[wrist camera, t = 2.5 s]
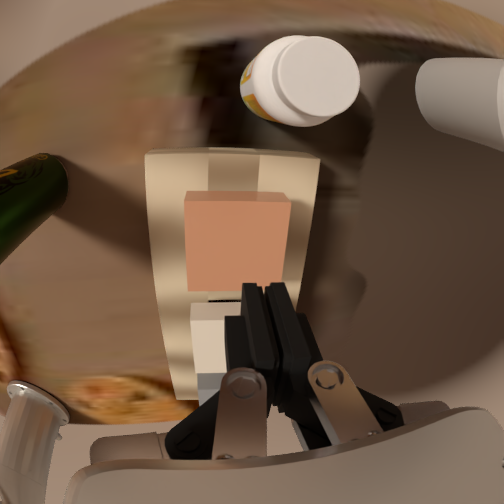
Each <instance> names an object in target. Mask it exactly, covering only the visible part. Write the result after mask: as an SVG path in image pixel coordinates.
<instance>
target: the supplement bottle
mask: <svg viewBox="0 0 504 504" xmlns="http://www.w3.org/2000/svg"><path fill="white" fill-rule="evenodd" d="M359 87H360V75H359V70H358V67H357V65H356V62H355V61H354V59H353V57H352V56H351V54H350V53H349V52H348V51H347V50H346V49H345V48H344V47H343V46H341V45H340V44H338V43H337V42H335V41H333V40H330V39H327V38H324V37H317V36H311V37H307V36H288V37H284V38H281V39H278V40H276V41H274V42H272V43H271V44H269V45H268V46H266V47H265V48H264V49H263V50H262V51H261V52H260V53H259V54H258V55H257V56H256V57H255V58H254V60H253V61H252V62H251V63H250V64H249V65H248V66H247V68H246V69H245V71H244V72H243V75H242V78H241V82H240V91H241V95H242V98H243V100H244V102H245V104H246V105H247V107H248V108H249V109H250V110H251V111H252V112H253V113H254V114H256V115H257V116H259V117H261V118H263V119H266V120H270V121H274V122H279V123H283V124H287V125H291V126H298V127H309V126H314V125H318V124H321V123H323V122H325V121H327V120H329V119H330V118H332V117H333V116H335V115H338V114H340V113H342V112H344V111H345V110H346V109H348V108H349V107H350V106H351V105H352V103H353V102H354V100H355V99H356V97H357V95H358V92H359Z"/></svg>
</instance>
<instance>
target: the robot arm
mask: <svg viewBox="0 0 504 504" xmlns="http://www.w3.org/2000/svg"><path fill="white" fill-rule="evenodd" d="M224 341H225V357H226V369H227V373H226V374H225V375H224V376H223V378H222V381H221V386H220V390H219V391H218V392H216V393H215V394H214V395H213V396H212V397H210V398H209V399H208V400H207V401H206V402H204V403H203V404H202V405H201V406H200V407H198V408H197V409H196V410H195V411H193V412H192V413H191V414H190V415H189V416H187V417H186V418H185V419H184V420H182V421H181V422H180V423H179V424H177V425H176V426H175V427H173V428H172V429H171V430H170V431H169V432H167V433H160V434H157V433H156V432H151V433H143V434H134V435H123V436H111V437H102V438H98V439H97V440H96V441H94V442H93V444H92V445H91V447H90V460H91V465H90V466H87V467H84V468H82V469H80V470H78V471H77V472H76V473H75V474H74V475H73V476H72V478H71V480H70V482H69V484H68V486H67V489H66V492H65V496H64V501H63V504H504V430H503V428H502V427H501V425H500V424H499V422H498V421H497V419H496V418H495V417H494V416H493V415H492V413H490V412H489V411H488V410H486V409H483V408H480V407H458V408H453V409H450V408H449V406H448V405H447V404H445V403H444V402H442V401H428V402H418V403H406V404H405V403H404V404H400V405H399V406H395V405H394V404H392V403H390V402H388V401H386V400H384V399H382V398H379V397H377V396H375V395H373V394H371V393H369V392H367V391H364V390H363V389H360V388H358V387H356V386H355V385H354V383H353V381H352V380H351V378H350V376H349V375H348V373H347V372H346V370H345V369H344V368H343V367H342V366H340V365H339V364H337V363H335V362H332V361H323V358H322V356H321V353H320V351H319V348H318V345H317V343H316V340H315V338H314V335H313V333H312V330H311V327H310V325H309V322H308V320H307V317H306V315H305V314H304V313H296V312H295V309H294V307H293V304H292V301H291V299H290V296H289V293H288V290H287V288H286V285H285V283H284V282H271V283H270V285H269V286H265V290H264V293H263V289H262V286H257V283H242V295H241V311H240V315H233V316H225V317H224ZM7 392H8V394H9V396H10V398H11V399H12V400H11V403H10V405H9V408H8V411H7V414H6V417H5V420H4V422H3V426H2V429H1V432H0V496H1V498H2V501H0V504H44V503H45V494H46V486H47V479H48V474H49V468H50V463H51V457H52V453H53V448H54V443H55V439H57V440H61V439H62V436H61V435H60V434H59V433H58V432H59V427H60V426H63V425H66V424H68V422H69V418H70V416H69V413H68V411H67V410H66V408H65V407H64V406H63V405H62V404H61V403H60V402H59V401H58V400H56V399H55V398H54V397H52V396H51V395H50V394H48V393H46V392H45V391H43V390H41V389H40V388H38V387H36V386H34V385H31V384H29V383H26V382H23V381H11V382H10V383H9V384H8V387H7ZM271 404H272V405H273V406H277V407H278V411H279V413H283V412H285V415H286V416H287V417H289V418H291V422H292V425H293V428H294V430H295V432H296V435H297V437H298V439H299V442H300V444H301V446H302V448H303V450H304V451H303V452H296V453H290V454H283V455H275V456H267V418H268V416H269V412H270V408H271Z"/></svg>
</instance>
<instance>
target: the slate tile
mask: <svg viewBox="0 0 504 504" xmlns="http://www.w3.org/2000/svg"><path fill="white" fill-rule="evenodd" d="M225 374H226V373H197V388H198V397H199V404H200V406H201V405H202V404H203V403H204V402H206V401H207V400H208V399H209V398H210V397H212V396H213V395H214V394H215V393H216V392H218V391H219V390H220V386H221V381H222V378H223V376H224V375H225Z"/></svg>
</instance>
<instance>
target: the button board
mask: <svg viewBox="0 0 504 504" xmlns="http://www.w3.org/2000/svg"><path fill="white" fill-rule="evenodd" d="M319 166H320V159H318V158H317V157H315V156H313V155H311V154H309V153H306V152H295V151H283V150H268V149H249V148H210V147H191V148H153V149H152V150H150V151H149V152H148V153H146V154H145V180H146V199H147V214H148V227H149V238H150V248H151V257H152V266H153V274H154V282H155V289H156V296H157V303H158V309H159V316H160V322H161V327H162V333H163V338H164V344H165V349H166V354H167V359H168V364H169V369H170V373H171V378H172V382H173V386H174V391H175V395H176V399H177V400H199V397H198V388H197V373H195V365H194V356H193V346H192V336H191V325H190V311H191V303H208V300H238V299H241V295H242V291H188V286H187V270H186V250H185V223H184V199H185V195H186V191H258V192H283V193H284V194H285V195H286V196H287V198H288V199H289V200H290V201H291V211H290V219H289V227H288V234H287V242H286V249H285V257H284V264H283V271H282V278H281V282H284V283H285V285H286V288H287V290H288V293H289V296H290V299H291V301H292V304H293V307H294V309H295V311H296V306H297V301H298V296H299V291H300V286H301V280H302V275H303V269H304V264H305V258H306V252H307V246H308V240H309V234H310V228H311V222H312V216H313V209H314V202H315V195H316V188H317V181H318V174H319ZM263 293H264V290H263Z"/></svg>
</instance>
